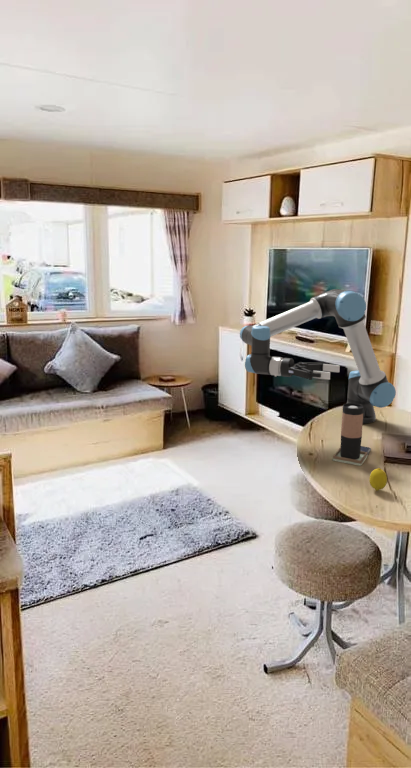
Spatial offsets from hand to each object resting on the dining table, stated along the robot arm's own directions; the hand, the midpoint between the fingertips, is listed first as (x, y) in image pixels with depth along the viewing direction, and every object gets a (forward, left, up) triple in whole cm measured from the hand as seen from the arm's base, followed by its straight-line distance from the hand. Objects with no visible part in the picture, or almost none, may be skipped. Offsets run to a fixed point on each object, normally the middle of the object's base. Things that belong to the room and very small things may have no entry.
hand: (334, 372), depth 214 cm
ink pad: (-3, +10, -31) cm, 33 cm away
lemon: (+31, +25, -32) cm, 50 cm away
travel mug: (+6, +10, -31) cm, 33 cm away
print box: (+6, +10, -31) cm, 33 cm away
